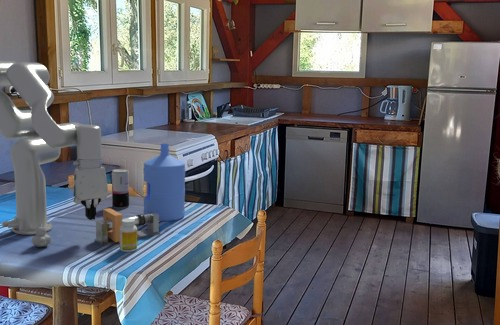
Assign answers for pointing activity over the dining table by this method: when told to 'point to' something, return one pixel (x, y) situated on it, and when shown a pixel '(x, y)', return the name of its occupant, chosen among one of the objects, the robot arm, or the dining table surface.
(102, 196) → the robot arm
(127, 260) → the dining table surface
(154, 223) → the pipe rig
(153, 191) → the water jug
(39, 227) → the grey figurine
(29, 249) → the dining table surface
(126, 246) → the supplement bottle
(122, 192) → the beverage can
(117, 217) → the collar
